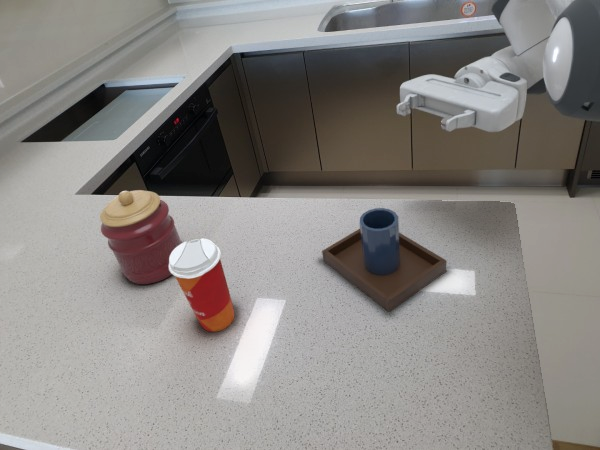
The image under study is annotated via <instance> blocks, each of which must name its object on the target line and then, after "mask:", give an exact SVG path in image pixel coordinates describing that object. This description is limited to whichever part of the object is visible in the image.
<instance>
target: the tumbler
mask: <svg viewBox="0 0 600 450" xmlns="http://www.w3.org/2000/svg"><path fill="white" fill-rule="evenodd" d="M359 229H360V231H361V241H362V250H363V260H364V266H365V268H366V270H367V271H368V272H370V273H372V274H375V275H388V274H391V273H393V272H395V271H396V270H397V269H398V268H399V266H400V247H399V233H400V225H399V215H398V214H397V213H396V212H395V211H394V210H392V209H389V208H385V207H375V208H372V209H368V210H367V211H365V212H363V213H362V215H361V216H360V217H359Z"/></svg>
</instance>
